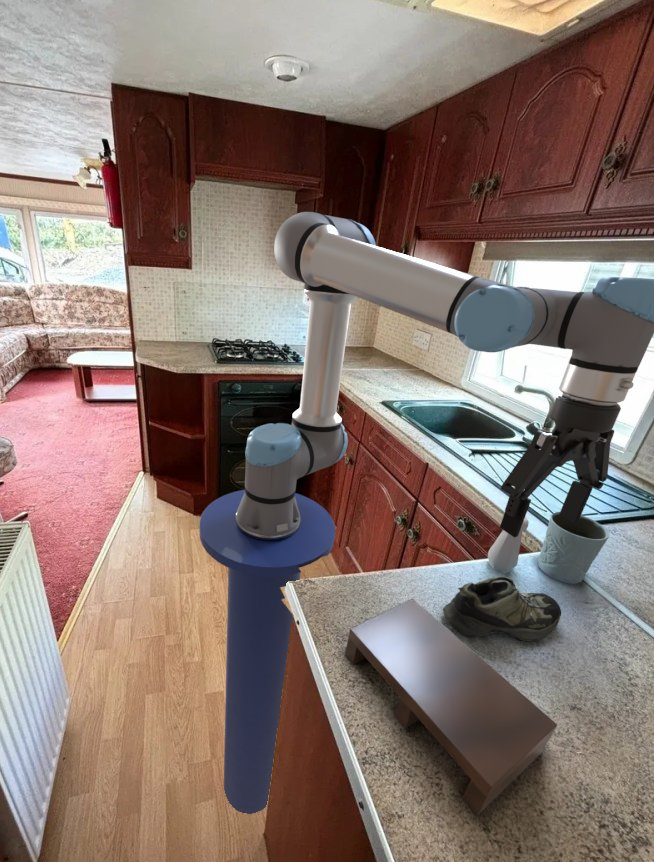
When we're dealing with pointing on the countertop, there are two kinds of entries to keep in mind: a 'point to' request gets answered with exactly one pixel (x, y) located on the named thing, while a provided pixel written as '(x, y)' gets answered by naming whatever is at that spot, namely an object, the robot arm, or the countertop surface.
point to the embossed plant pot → (571, 547)
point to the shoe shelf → (453, 698)
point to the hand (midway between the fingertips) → (539, 525)
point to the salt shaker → (506, 550)
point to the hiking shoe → (502, 610)
